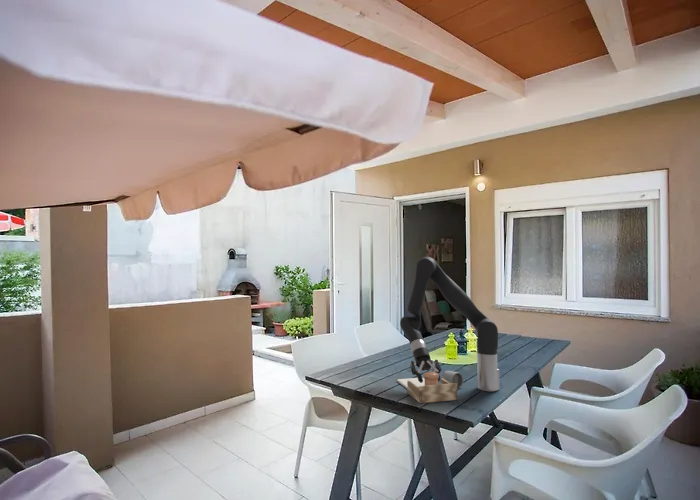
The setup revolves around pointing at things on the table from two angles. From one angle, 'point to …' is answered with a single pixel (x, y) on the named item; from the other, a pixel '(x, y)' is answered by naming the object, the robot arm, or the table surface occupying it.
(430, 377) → the tan round-topped cylinder
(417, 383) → the stone tile
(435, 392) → the wooden frame
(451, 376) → the ceramic mug
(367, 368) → the table surface
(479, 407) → the table surface
